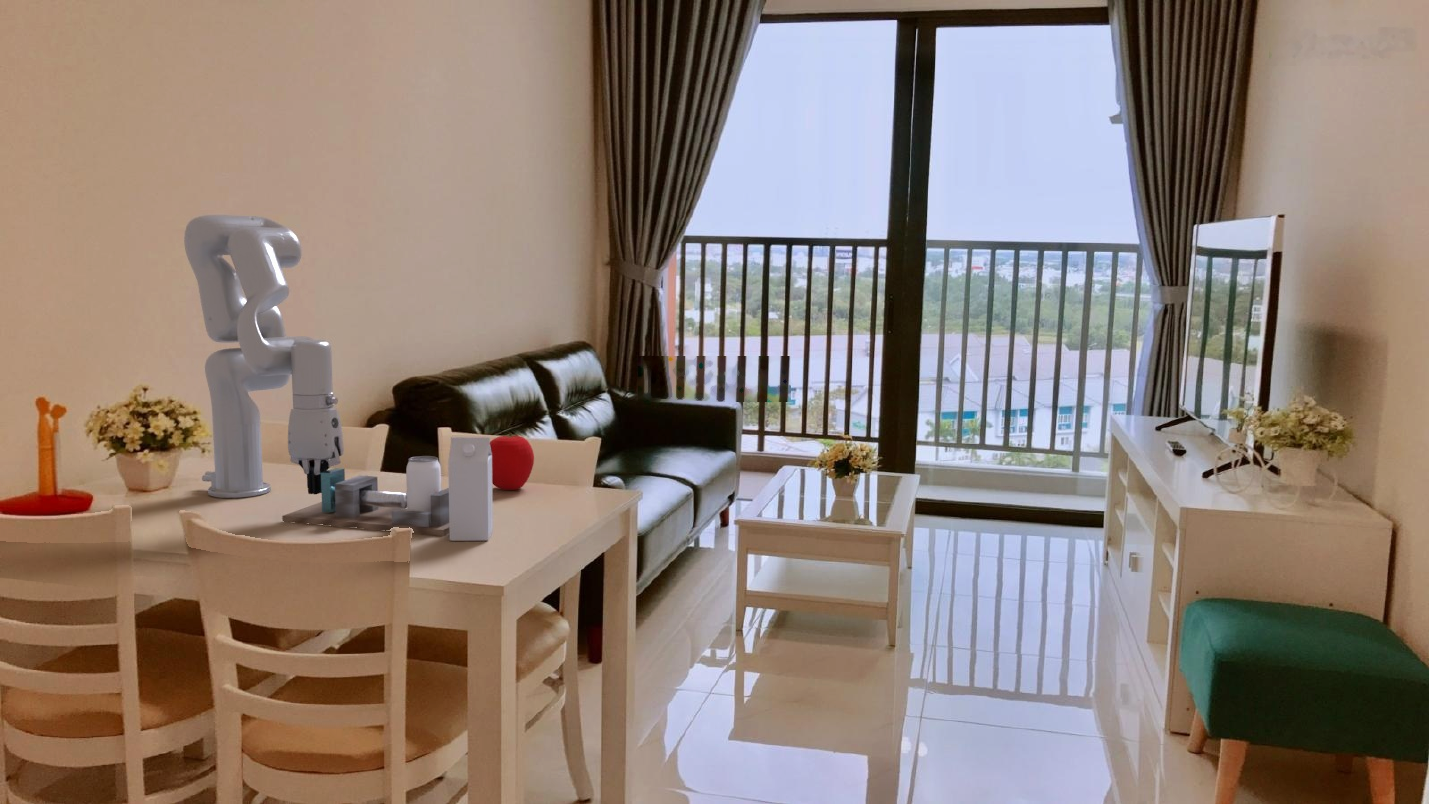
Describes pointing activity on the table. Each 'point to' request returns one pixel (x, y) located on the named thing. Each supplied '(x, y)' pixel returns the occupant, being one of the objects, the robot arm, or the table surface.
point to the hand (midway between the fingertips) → (316, 492)
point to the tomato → (511, 461)
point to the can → (422, 482)
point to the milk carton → (470, 489)
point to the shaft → (365, 496)
